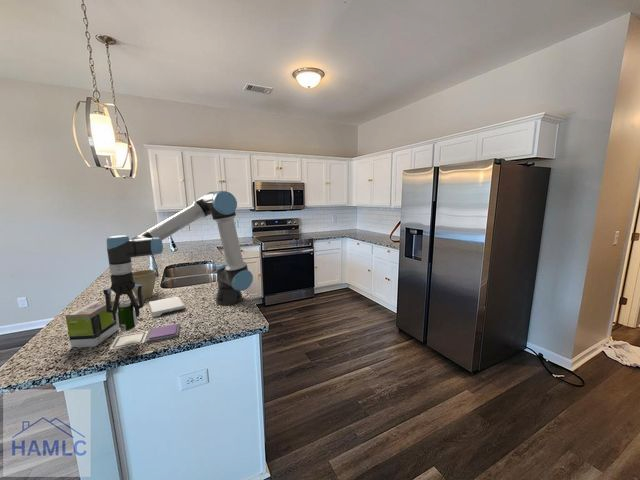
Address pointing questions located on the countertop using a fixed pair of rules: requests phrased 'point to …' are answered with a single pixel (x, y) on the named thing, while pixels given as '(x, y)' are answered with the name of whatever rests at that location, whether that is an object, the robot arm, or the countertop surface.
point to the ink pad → (163, 333)
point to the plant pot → (145, 282)
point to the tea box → (90, 324)
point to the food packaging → (165, 306)
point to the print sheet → (129, 340)
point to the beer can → (126, 316)
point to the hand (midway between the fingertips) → (127, 325)
